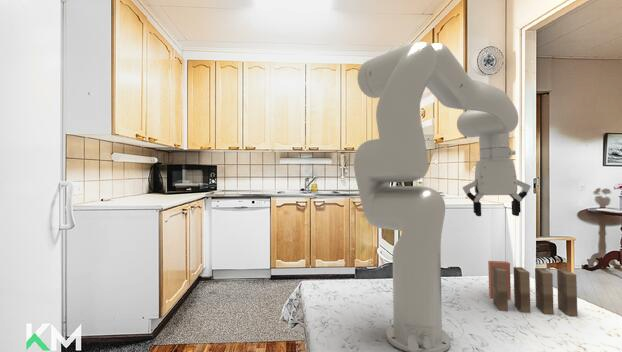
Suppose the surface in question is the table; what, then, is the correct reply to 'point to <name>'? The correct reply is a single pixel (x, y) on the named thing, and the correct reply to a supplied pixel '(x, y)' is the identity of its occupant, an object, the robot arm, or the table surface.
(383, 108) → the robot arm
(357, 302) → the table surface
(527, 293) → the tile
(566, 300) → the tile
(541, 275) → the tile
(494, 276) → the tile
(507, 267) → the red tile
